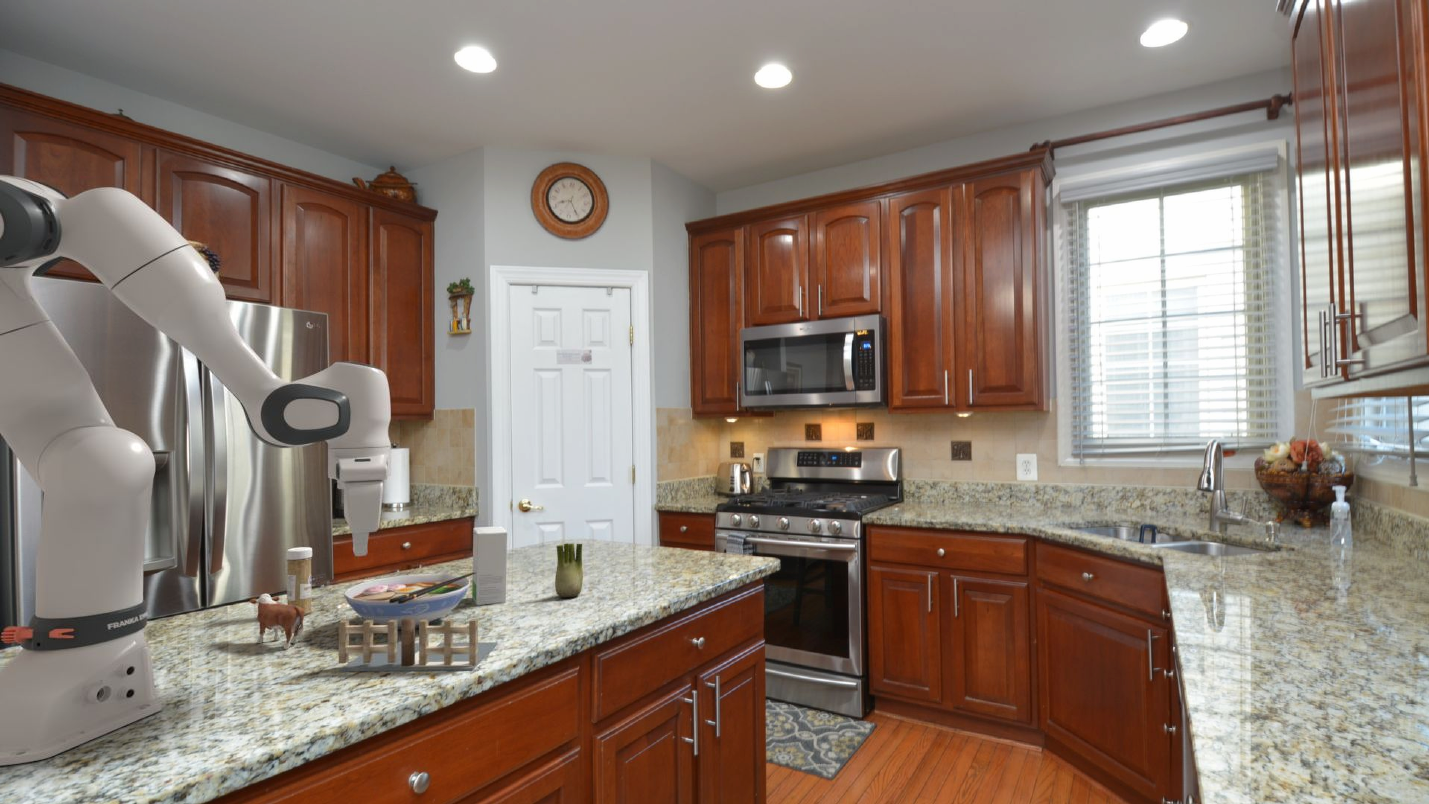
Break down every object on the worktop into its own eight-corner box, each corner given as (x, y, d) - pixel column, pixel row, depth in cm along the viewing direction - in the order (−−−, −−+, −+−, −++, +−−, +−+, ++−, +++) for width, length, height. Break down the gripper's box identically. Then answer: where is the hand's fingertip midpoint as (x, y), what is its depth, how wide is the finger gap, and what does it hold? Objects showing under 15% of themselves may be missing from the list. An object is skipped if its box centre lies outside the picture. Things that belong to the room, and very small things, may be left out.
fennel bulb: (583, 594, 160) (583, 540, 161) (580, 599, 155) (580, 544, 156) (557, 594, 160) (557, 541, 160) (554, 600, 155) (553, 545, 155)
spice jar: (312, 614, 145) (312, 548, 145) (286, 618, 142) (286, 551, 143) (310, 609, 149) (311, 545, 149) (285, 613, 146) (285, 547, 146)
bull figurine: (269, 634, 132) (269, 590, 132) (310, 645, 125) (310, 599, 125) (243, 640, 128) (244, 595, 128) (284, 652, 121) (284, 604, 121)
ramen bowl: (402, 604, 152) (402, 566, 153) (497, 610, 147) (497, 571, 147) (309, 639, 128) (309, 594, 128) (417, 648, 123) (417, 601, 123)
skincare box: (471, 597, 158) (471, 527, 158) (502, 594, 161) (502, 525, 161) (476, 606, 150) (476, 532, 151) (508, 602, 153) (508, 530, 154)
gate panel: (397, 660, 114) (397, 619, 114) (393, 662, 113) (394, 621, 113) (342, 660, 114) (342, 620, 114) (338, 663, 113) (338, 622, 113)
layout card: (472, 670, 112) (472, 667, 112) (339, 671, 112) (339, 669, 112) (497, 643, 125) (497, 641, 125) (377, 645, 125) (377, 643, 125)
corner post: (411, 668, 113) (411, 621, 113) (399, 668, 113) (399, 621, 113) (416, 664, 115) (417, 617, 115) (404, 664, 115) (404, 617, 115)
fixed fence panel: (478, 662, 114) (477, 618, 114) (475, 665, 113) (475, 620, 113) (422, 663, 114) (422, 619, 114) (419, 665, 113) (419, 621, 113)
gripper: (334, 463, 118) (334, 546, 118) (340, 470, 101) (340, 568, 100) (376, 461, 121) (376, 542, 121) (388, 468, 104) (389, 563, 103)
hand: (360, 554), depth 111 cm, fingers closed
